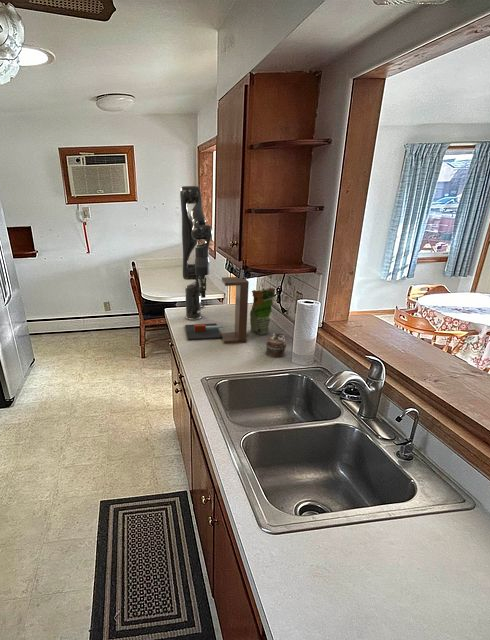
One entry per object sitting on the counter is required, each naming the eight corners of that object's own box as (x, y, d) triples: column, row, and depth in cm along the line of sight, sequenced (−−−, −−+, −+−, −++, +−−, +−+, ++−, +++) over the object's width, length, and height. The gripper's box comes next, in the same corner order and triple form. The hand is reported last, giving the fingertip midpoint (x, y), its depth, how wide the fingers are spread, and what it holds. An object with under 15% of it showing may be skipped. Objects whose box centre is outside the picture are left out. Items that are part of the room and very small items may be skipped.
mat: (185, 326, 230) (185, 324, 229) (215, 324, 230) (215, 323, 230) (188, 340, 210) (188, 338, 209) (221, 338, 210) (221, 336, 210)
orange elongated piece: (222, 322, 220) (222, 328, 221) (194, 324, 219) (194, 329, 221) (223, 325, 216) (223, 330, 218) (194, 326, 216) (194, 332, 218)
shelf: (220, 335, 215) (221, 277, 201) (241, 334, 215) (243, 276, 201) (224, 343, 204) (225, 283, 190) (246, 342, 204) (248, 281, 190)
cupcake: (266, 349, 195) (267, 330, 191) (286, 350, 192) (287, 331, 188) (264, 356, 187) (265, 337, 183) (284, 358, 184) (286, 339, 180)
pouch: (272, 329, 220) (276, 285, 209) (268, 336, 210) (271, 291, 199) (253, 327, 224) (255, 284, 213) (247, 334, 214) (249, 289, 204)
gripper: (211, 267, 197) (210, 298, 204) (207, 262, 210) (207, 291, 217) (196, 268, 197) (196, 299, 204) (193, 262, 210) (194, 292, 217)
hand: (202, 295), depth 211 cm, fingers open, 8 cm apart
